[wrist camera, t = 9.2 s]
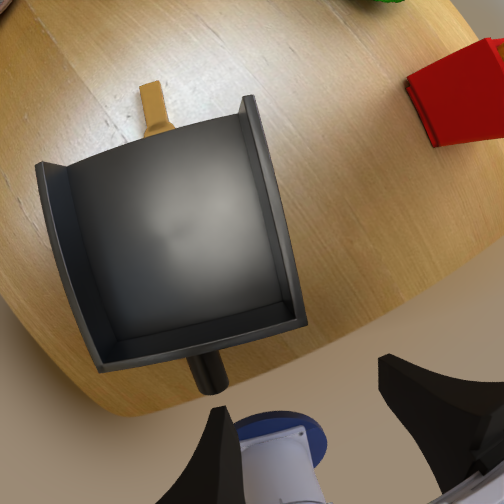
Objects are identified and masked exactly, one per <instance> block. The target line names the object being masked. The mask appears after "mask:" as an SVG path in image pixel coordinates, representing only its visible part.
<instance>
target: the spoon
mask: <svg viewBox="0 0 504 504" xmlns="http://www.w3.org/2000/svg"><path fill="white" fill-rule="evenodd" d="M139 89H140V94H141V99H142V104H143V109H144V114H145V119H146V124H147V129H146V131H145V133H144V138H145V137H149V136H152V135H155V134H158V133H162V132H165V131H169V130H172V129H176V128H175V127H174V125H173V124H171V123H170V122H169V121H168V117H167V112H166V108H165V103H164V98H163V94H162V89H161V84H160V82H159V80H158V81H155V82H151V83H148V84H145V85H142V86H139Z"/></svg>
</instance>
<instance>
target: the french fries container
mask: <svg viewBox="0 0 504 504" xmlns="http://www.w3.org/2000/svg"><path fill="white" fill-rule="evenodd" d="M406 78H407V80H408V82H409V83H410V85H411V86H409V87H407V88H406V90H407V92H408V94H409V96H410V98H411V100H412V102H413V104H414V106H415V108H416V110H417V112H418V114H419V116H420V118H421V120H422V122H423V124H424V127H425V129H426V131H427V133H428V136H429V138H430V140H431V143H432V145H433V148H435V147H441V146H448V145H454V144H461V143H468V142H475V141H482V140H490V139H498V138H504V38H502V39H493V40H492V39H491V38H484V39H482V40H480V41H478V42H475V43H473V44H471V45H469V46H467V47H465V48H463V49H460V50H458V51H456V52H454V53H452V54H450V55H448V56H446V57H444V58H442V59H440V60H438V61H436V62H434V63H432V64H430V65H428V66H426V67H424V68H423V69H421V70H419V71H417V72H415V73H413V74H411V75H409V76H407V77H406Z"/></svg>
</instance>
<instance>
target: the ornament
mask: <svg viewBox="0 0 504 504" xmlns="http://www.w3.org/2000/svg"><path fill="white" fill-rule="evenodd" d="M374 1H382V2H385V3H386V2H387V3H389V2H395V3H399V2H402V1H405V0H374Z"/></svg>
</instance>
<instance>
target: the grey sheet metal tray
mask: <svg viewBox="0 0 504 504" xmlns="http://www.w3.org/2000/svg"><path fill="white" fill-rule="evenodd" d="M35 171H36V177H37V184H38V189H39V195H40V200H41V205H42V210H43V214H44V219H45V223H46V227H47V232H48V236H49V239H50V243H51V247H52V251H53V254H54V258H55V261H56V265H57V268H58V271H59V274H60V278H61V281H62V284H63V287H64V290H65V293H66V296H67V298H68V301H69V304H70V307H71V309H72V312H73V315H74V317H75V320H76V322H77V325H78V327H79V330H80V332H81V335H82V337H83V340H84V342H85V344H86V346H87V349H88V351H89V353H90V355H91V358H92V360H93V362H94V364H95V366H96V368H97V370H98V372H99V373H106V372H112V371H118V370H124V369H130V368H135V367H141V366H146V365H151V364H157V363H162V362H167V361H171V360H176V359H181V358H186V359H187V362H188V364H189V367H190V370H191V372H192V375H193V377H194V380H195V382H196V385H197V387H198V389H199V391H200V393H202V394H204V395H215V394H219V393H221V392H223V391H224V390H225V389H226V388H227V387H228V385H229V380H228V377H227V374H226V371H225V368H224V365H223V362H222V359H221V356H220V353H219V350H220V349H224V348H228V347H232V346H236V345H240V344H244V343H248V342H251V341H255V340H259V339H263V338H266V337H270V336H273V335H277V334H280V333H284V332H287V331H290V330H294V329H297V328H300V327H304V326H307V325H308V321H307V316H306V311H305V306H304V301H303V296H302V291H301V287H300V282H299V277H298V272H297V268H296V263H295V259H294V254H293V249H292V245H291V241H290V236H289V232H288V227H287V223H286V219H285V214H284V210H283V206H282V202H281V197H280V193H279V189H278V185H277V181H276V177H275V173H274V169H273V165H272V161H271V157H270V153H269V149H268V145H267V141H266V137H265V134H264V130H263V126H262V122H261V118H260V115H259V111H258V107H257V104H256V100H255V96H254V95H247V96H243V97H242V100H241V104H240V108H239V112H238V114H233V115H228V116H224V117H219V118H215V119H211V120H207V121H202V122H198V123H195V124H191V125H187V126H183V127H179V128H176V129H172V130H169V131H165V132H162V133H158V134H155V135H152V136H149V137H145V138H142V139H139V140H136V141H133V142H130V143H127V144H124V145H121V146H118V147H116V148H113V149H110V150H107V151H104V152H102V153H99V154H96V155H94V156H91V157H89V158H86V159H84V160H81V161H79V162H76V163H74V164H71V165H69V166H67V167H66V166H62V165H57V164H53V163H48V162H43V161H42V162H40V163H38V164H36V165H35Z"/></svg>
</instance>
